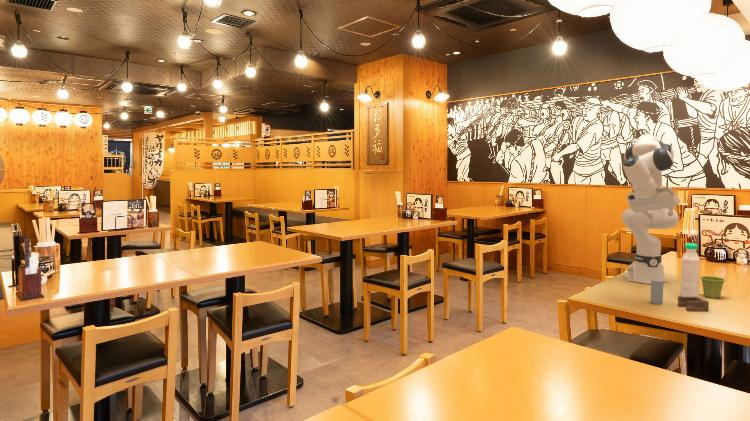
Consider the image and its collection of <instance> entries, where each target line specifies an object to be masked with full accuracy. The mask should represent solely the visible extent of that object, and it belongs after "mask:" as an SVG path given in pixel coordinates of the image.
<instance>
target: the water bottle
mask: <svg viewBox="0 0 750 421" xmlns="http://www.w3.org/2000/svg"><path fill="white" fill-rule="evenodd" d="M698 246H699V245H698V244H697V243H692V242H691V243H690V242H689V243H685V247H684V248H685V252H684V254H683V255H682V257H681V267H680V268H681V269H680V271H681V272H680V280H681V281H680V292H679V295H680V296H679V297H699V288H700V284H699V282H700V272H701V271H700V269H701V268H700V267H701V266H700V262H701V259H700V257H699V254H698V253H697V250H698ZM699 298H700V297H699Z"/></svg>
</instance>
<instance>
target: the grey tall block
mask: <svg viewBox="0 0 750 421" xmlns="http://www.w3.org/2000/svg"><path fill="white" fill-rule="evenodd" d="M663 299H664V282H663V281H661V280H651V284H650V299H649V301H650V303H651V304H653V303H654V305H663Z"/></svg>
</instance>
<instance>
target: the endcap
mask: <svg viewBox="0 0 750 421" xmlns="http://www.w3.org/2000/svg"><path fill="white" fill-rule="evenodd" d="M709 305H710V301H708V300H705V299H703V298H702V297H681V296H677V307H678V308H679V307H681V308H682V307H684V308H685V310H686V312H709V309H710V308H709V307H710V306H709Z"/></svg>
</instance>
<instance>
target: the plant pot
mask: <svg viewBox="0 0 750 421" xmlns="http://www.w3.org/2000/svg"><path fill="white" fill-rule="evenodd" d="M699 279H701V283H702V290H703V296H704V297H708V298H710V299H719V298H721V294H722V289H723V285H724V283H725V281H726V278H723V277H719V276H713V275H703V276H699Z"/></svg>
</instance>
